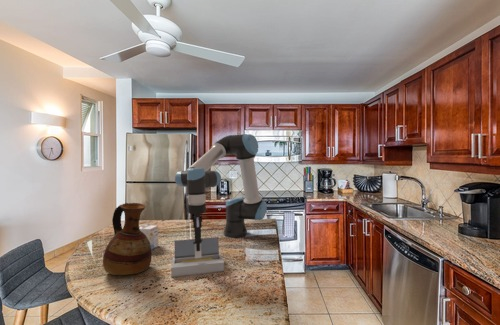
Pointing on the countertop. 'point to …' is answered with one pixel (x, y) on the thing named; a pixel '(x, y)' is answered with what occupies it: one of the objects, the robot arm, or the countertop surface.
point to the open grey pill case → (197, 265)
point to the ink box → (150, 233)
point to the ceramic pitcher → (127, 243)
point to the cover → (188, 248)
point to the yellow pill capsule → (197, 260)
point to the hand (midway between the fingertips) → (198, 257)
